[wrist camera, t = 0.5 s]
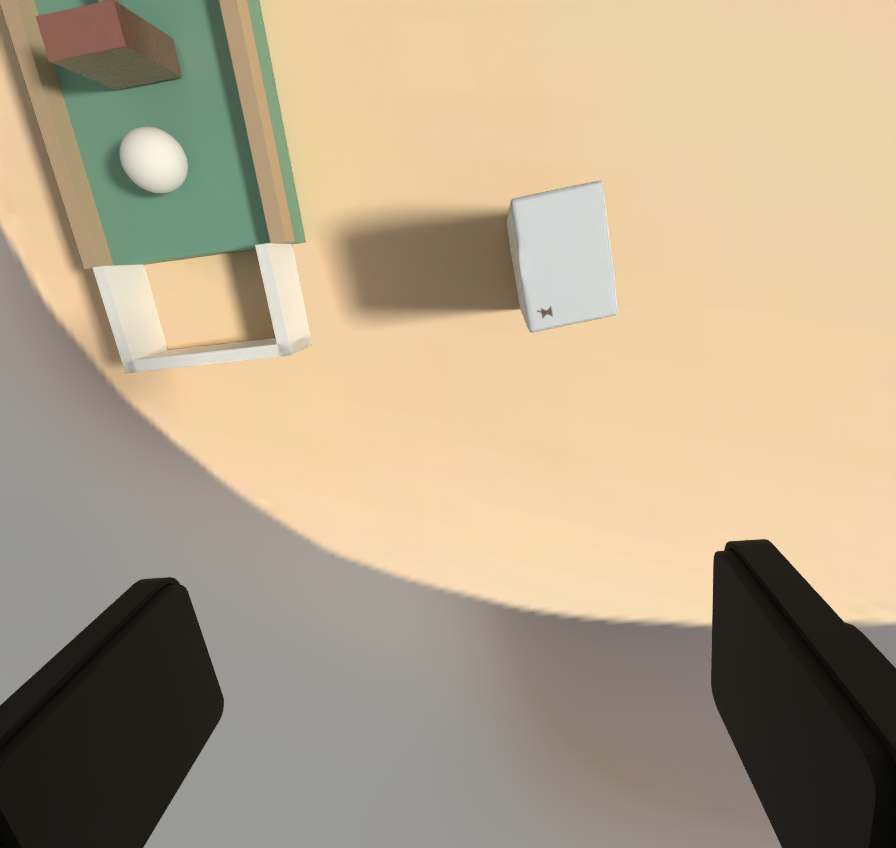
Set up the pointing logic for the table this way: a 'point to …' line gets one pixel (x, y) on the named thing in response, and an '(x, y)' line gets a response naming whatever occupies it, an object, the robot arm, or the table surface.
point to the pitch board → (183, 117)
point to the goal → (148, 349)
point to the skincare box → (562, 256)
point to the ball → (153, 159)
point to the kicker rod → (109, 45)
